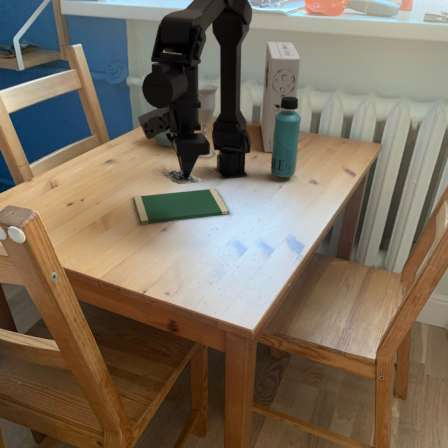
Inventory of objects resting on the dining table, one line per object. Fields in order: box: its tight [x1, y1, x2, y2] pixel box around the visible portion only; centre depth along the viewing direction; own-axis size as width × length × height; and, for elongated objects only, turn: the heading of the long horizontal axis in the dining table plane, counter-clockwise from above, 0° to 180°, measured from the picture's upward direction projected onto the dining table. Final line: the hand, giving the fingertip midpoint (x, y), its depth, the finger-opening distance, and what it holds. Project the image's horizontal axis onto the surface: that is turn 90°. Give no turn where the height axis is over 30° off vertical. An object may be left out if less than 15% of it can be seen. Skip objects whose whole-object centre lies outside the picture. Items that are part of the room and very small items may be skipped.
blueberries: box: [164, 169, 202, 185], centre depth 99 cm, size 7×8×2 cm
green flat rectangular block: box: [133, 188, 230, 225], centre depth 112 cm, size 20×12×1 cm, turn 106°
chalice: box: [198, 83, 219, 159], centre depth 132 cm, size 7×7×18 cm
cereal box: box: [260, 41, 301, 153], centre depth 140 cm, size 22×8×25 cm, turn 179°
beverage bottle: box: [270, 97, 302, 178], centre depth 120 cm, size 6×7×20 cm
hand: (184, 173), depth 99 cm, fingers closed on blueberries, 2 cm apart
